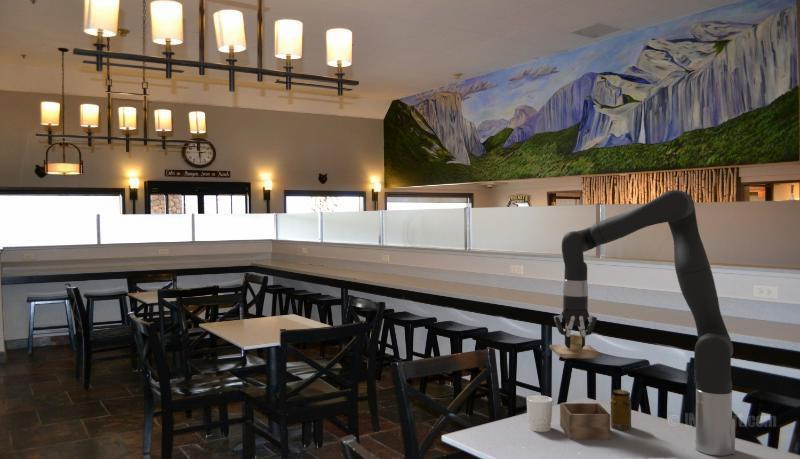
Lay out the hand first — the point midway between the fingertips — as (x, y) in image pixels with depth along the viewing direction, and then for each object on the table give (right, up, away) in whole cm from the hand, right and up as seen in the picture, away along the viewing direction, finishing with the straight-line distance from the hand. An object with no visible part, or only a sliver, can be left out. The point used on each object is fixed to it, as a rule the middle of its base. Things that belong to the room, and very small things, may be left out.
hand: (574, 347), depth 207 cm
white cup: (-12, -25, -5) cm, 28 cm away
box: (+1, -25, -9) cm, 27 cm away
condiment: (+14, -25, -5) cm, 29 cm away
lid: (0, -1, 0) cm, 1 cm away
